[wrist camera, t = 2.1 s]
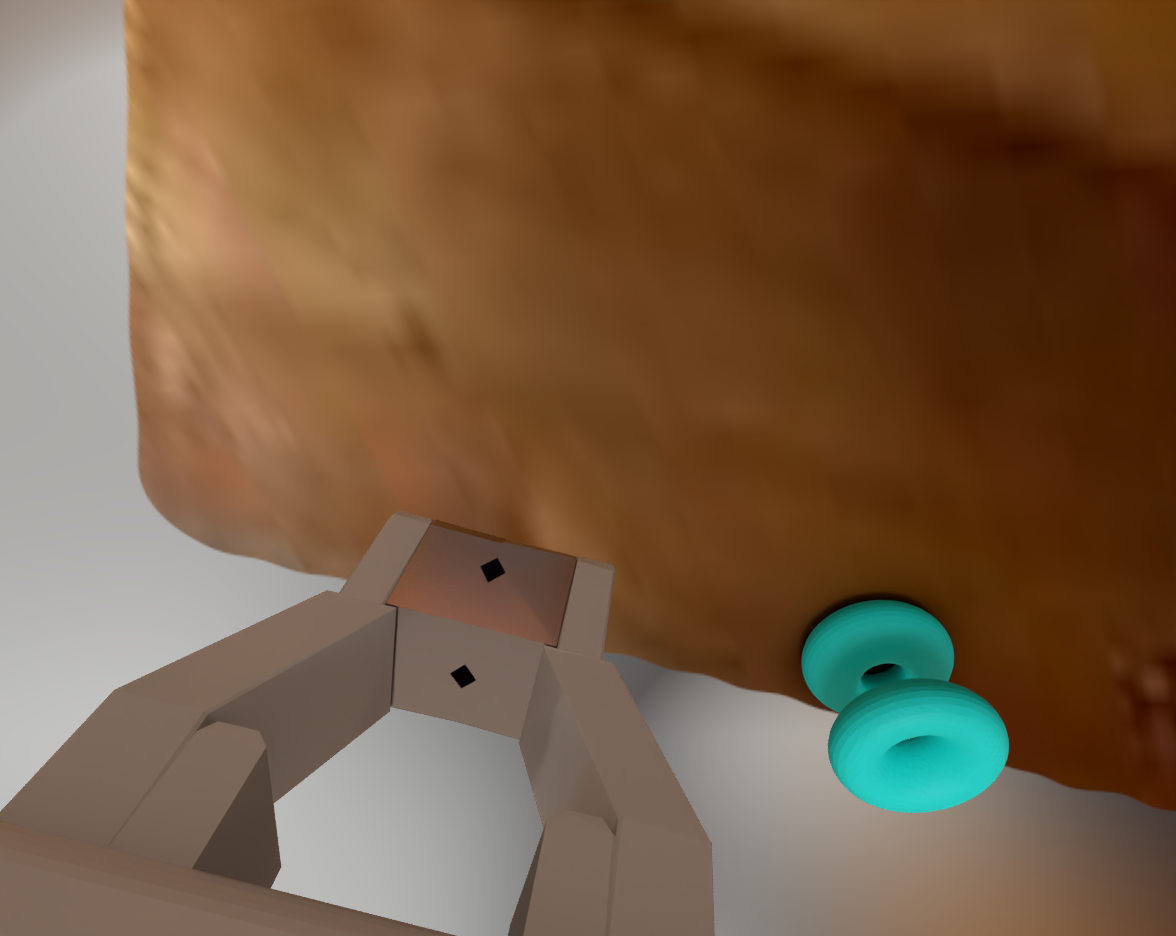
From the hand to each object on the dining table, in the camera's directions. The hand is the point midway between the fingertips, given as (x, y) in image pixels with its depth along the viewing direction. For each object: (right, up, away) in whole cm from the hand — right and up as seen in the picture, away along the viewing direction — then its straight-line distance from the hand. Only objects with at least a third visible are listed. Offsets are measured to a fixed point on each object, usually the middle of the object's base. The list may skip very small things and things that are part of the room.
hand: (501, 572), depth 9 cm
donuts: (+21, -11, +36) cm, 44 cm away
